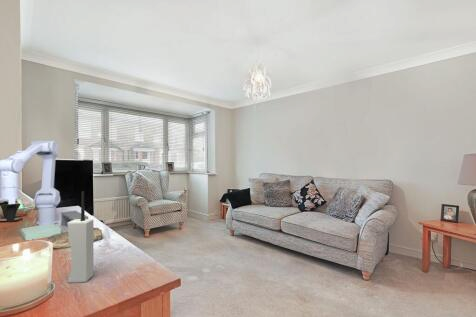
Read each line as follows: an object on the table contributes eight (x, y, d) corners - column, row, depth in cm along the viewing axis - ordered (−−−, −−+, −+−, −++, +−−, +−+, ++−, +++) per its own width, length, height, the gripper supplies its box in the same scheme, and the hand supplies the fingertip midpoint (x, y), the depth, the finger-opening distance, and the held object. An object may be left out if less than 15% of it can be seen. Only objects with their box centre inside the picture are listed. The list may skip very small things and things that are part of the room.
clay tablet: (44, 254, 84) (106, 240, 98) (44, 241, 84) (106, 228, 98) (41, 245, 94) (97, 233, 108) (41, 233, 94) (97, 222, 108)
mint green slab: (20, 235, 106) (20, 228, 106) (53, 229, 115) (53, 223, 115) (25, 242, 97) (25, 235, 97) (60, 235, 106) (60, 228, 106)
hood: (61, 224, 121) (61, 212, 121) (75, 222, 125) (75, 210, 125) (73, 233, 107) (73, 219, 107) (88, 230, 112) (88, 216, 112)
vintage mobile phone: (75, 276, 68) (75, 190, 68) (93, 275, 68) (93, 190, 68) (67, 283, 64) (67, 192, 64) (86, 282, 64) (86, 192, 64)
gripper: (-6, 187, 100) (-7, 218, 100) (-2, 189, 91) (-3, 224, 91) (16, 185, 106) (16, 215, 105) (22, 187, 96) (22, 220, 96)
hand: (9, 219), depth 98 cm, fingers open, 7 cm apart
